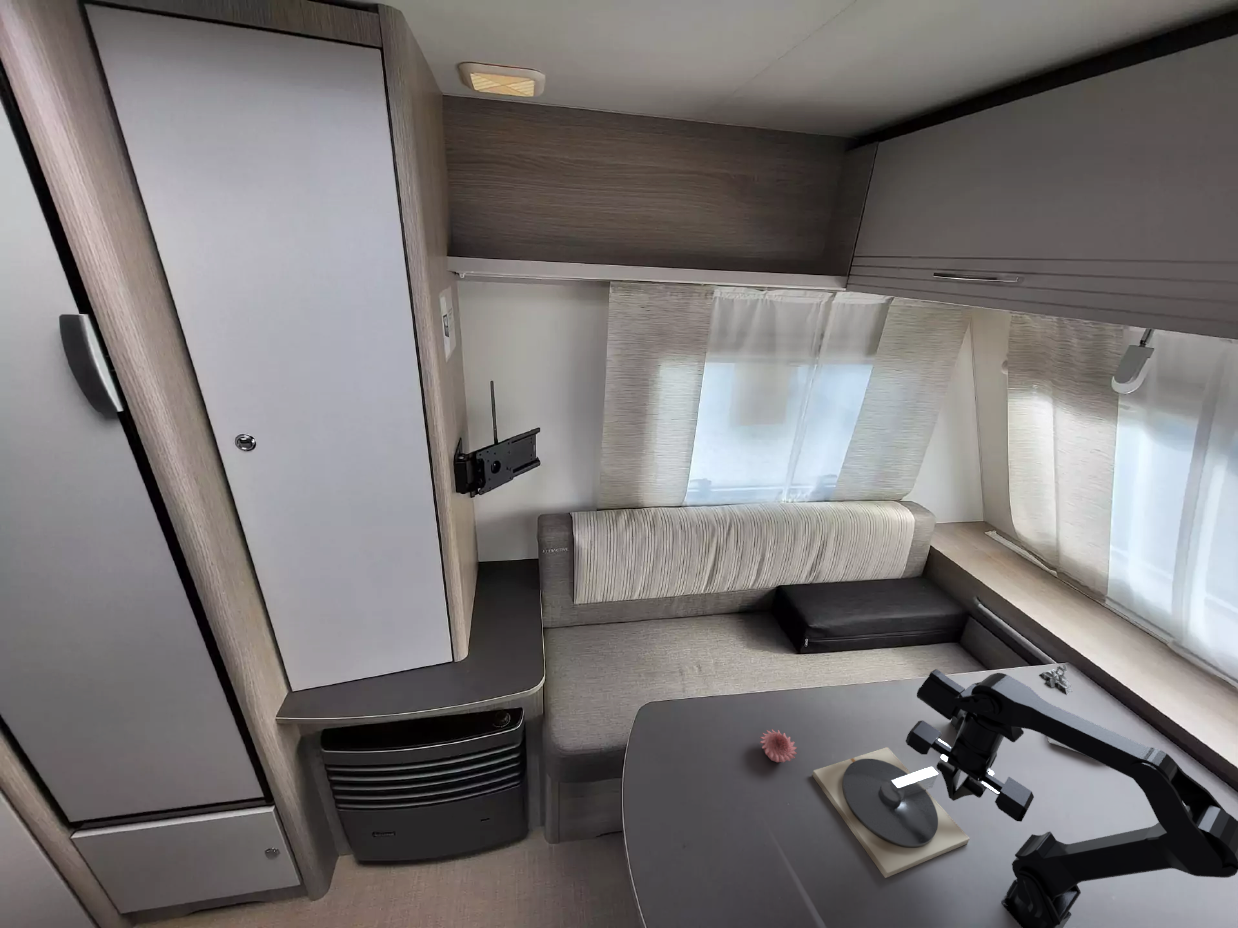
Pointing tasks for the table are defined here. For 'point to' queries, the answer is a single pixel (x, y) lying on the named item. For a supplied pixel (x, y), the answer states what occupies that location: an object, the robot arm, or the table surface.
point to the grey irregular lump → (1058, 679)
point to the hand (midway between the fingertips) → (952, 797)
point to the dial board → (880, 851)
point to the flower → (778, 746)
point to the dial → (892, 801)
